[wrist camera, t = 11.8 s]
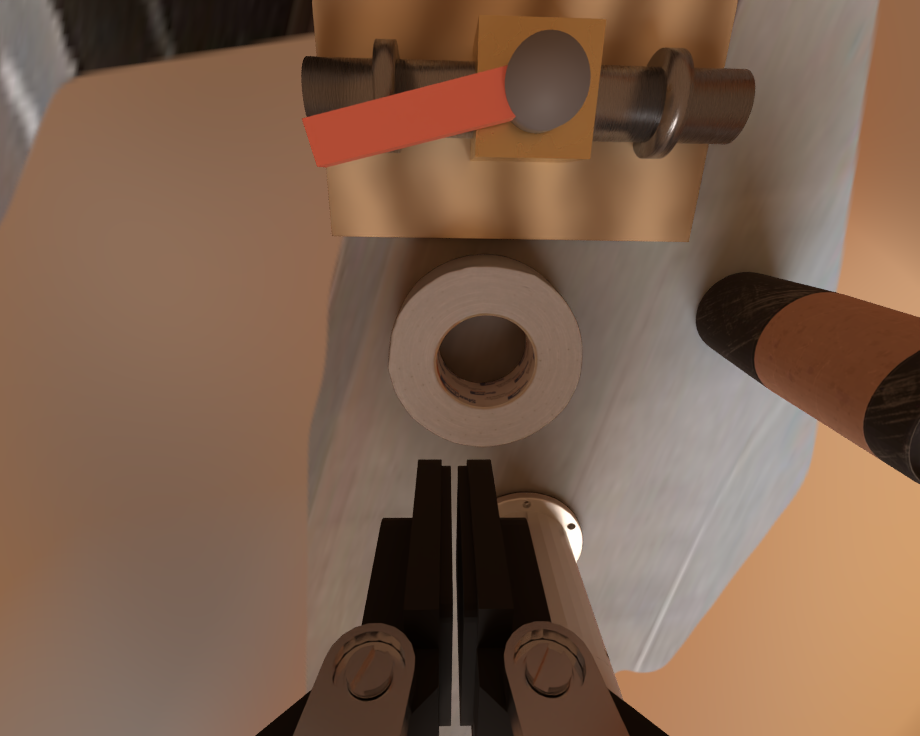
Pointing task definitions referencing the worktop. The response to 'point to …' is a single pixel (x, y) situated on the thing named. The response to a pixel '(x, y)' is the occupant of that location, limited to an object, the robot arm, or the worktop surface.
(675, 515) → the worktop surface
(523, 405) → the tape roll
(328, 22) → the mount board
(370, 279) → the worktop surface
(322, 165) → the lever
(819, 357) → the travel mug
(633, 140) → the valve
